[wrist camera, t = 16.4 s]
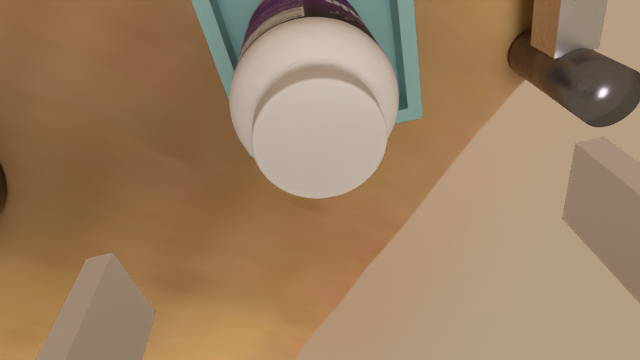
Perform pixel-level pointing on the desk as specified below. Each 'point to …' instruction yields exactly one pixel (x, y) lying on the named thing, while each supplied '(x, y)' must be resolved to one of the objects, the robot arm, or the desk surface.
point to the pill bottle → (313, 96)
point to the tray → (373, 8)
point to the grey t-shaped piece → (575, 62)
